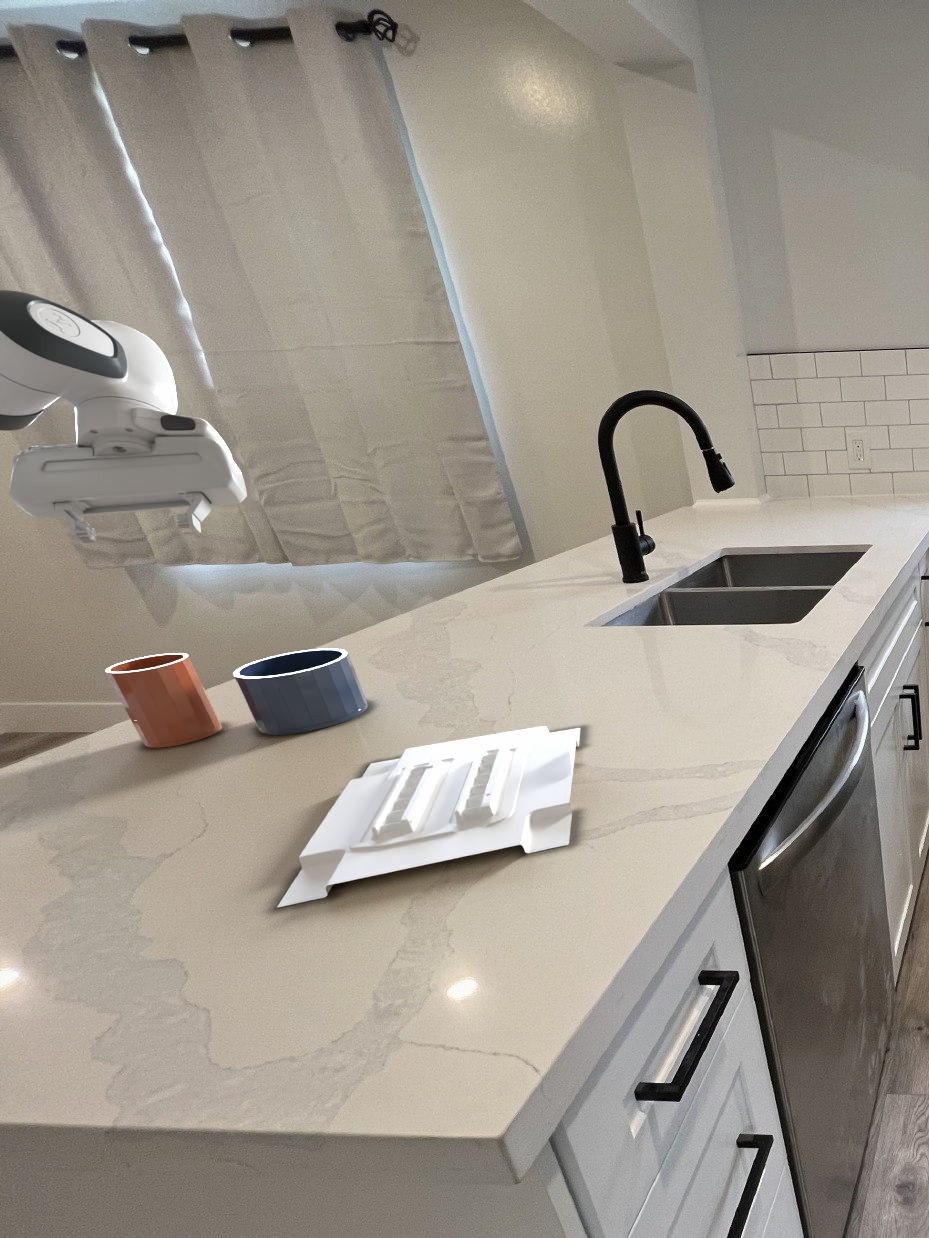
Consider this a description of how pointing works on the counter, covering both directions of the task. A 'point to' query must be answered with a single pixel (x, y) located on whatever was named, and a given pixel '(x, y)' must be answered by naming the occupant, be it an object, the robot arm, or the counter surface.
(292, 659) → the stack cup
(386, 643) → the counter surface
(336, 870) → the tray
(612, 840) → the counter surface
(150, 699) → the terracotta cup
